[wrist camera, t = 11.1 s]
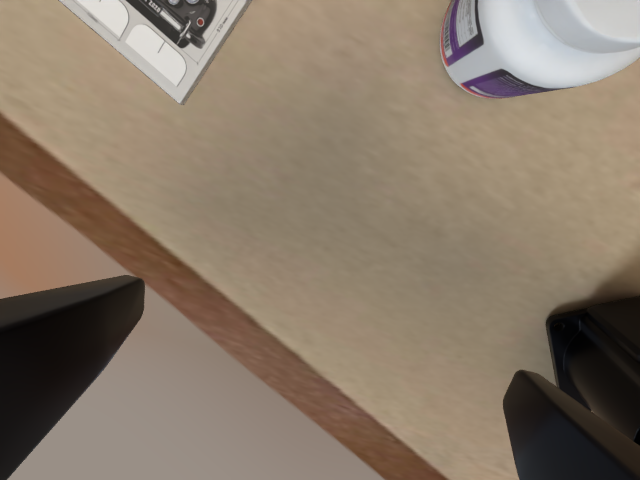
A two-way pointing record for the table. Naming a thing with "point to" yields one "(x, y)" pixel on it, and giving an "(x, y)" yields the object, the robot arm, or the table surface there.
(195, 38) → the white product box
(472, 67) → the pill bottle
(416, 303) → the table surface
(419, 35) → the table surface
